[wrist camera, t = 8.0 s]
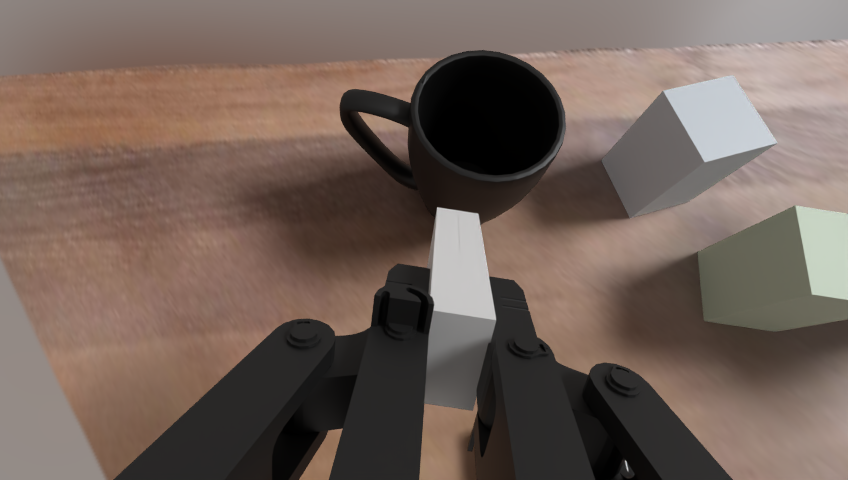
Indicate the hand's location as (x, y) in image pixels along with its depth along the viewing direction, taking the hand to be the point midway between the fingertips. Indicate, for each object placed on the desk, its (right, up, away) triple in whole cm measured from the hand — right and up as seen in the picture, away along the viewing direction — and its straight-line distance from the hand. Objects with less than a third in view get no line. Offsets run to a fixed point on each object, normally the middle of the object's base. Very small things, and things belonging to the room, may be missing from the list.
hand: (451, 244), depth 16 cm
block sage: (+21, -3, +14) cm, 25 cm away
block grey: (+16, +5, +17) cm, 24 cm away
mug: (0, +4, +16) cm, 16 cm away
